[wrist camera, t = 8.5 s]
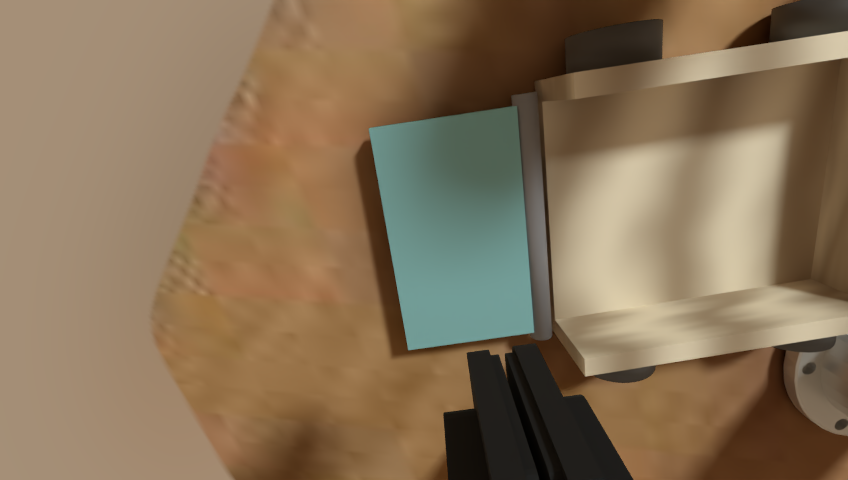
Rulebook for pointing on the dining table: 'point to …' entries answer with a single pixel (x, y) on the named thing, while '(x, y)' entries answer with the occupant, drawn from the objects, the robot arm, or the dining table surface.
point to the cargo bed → (697, 194)
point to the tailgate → (467, 224)
